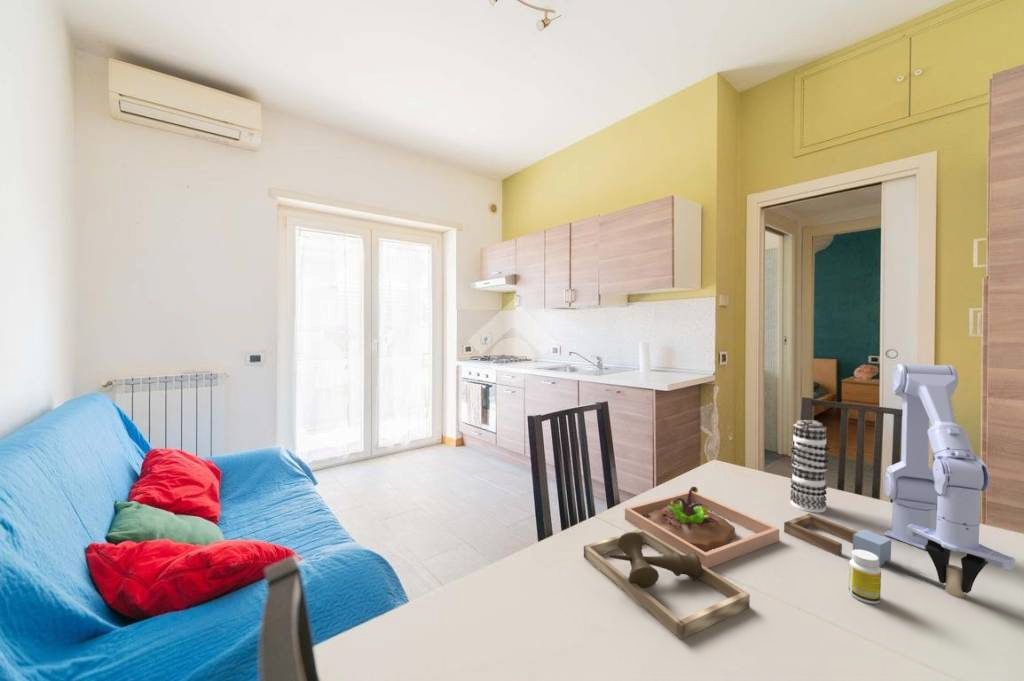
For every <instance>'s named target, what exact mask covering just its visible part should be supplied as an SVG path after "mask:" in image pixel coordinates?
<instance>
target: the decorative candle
mask: <svg viewBox="0 0 1024 681" xmlns="http://www.w3.org/2000/svg"><path fill="white" fill-rule="evenodd" d="M792 426H793V428H794V429H793V430H794V431H793V437H792V439H793V440H792V441H791V442H790V452H791V453H792V454H791V455H790V459H791V460H790V461H791V462H790V464H791V466H793V470H792V471H793V472H792V478H791V480H790V482H791V484H790V488H791V489H790V494H791V495H790V496H789V497H790V504H791V505H792V506H793V507H794V508H796V509H799V510H802V511H804V512H810V513H819V514H820V513H824V512H826V511H827V508H826V507H827V502H826V501H827V496H826V495H827V494H828V493H827V489H828V486H827V485H826V471H827V470H828V466H827V465H825V464H827V463H829V460H828V459H827V458H828V457H829V454H828V453H826V452H827V451H830V448H829V445H830V441H827V438H826V437H827V430H828V428H827V426H824V424H823V423H822V422H820V421H818V420H813V419H799V420H797V421H796V422H795V423H793V424H792Z"/></svg>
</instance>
